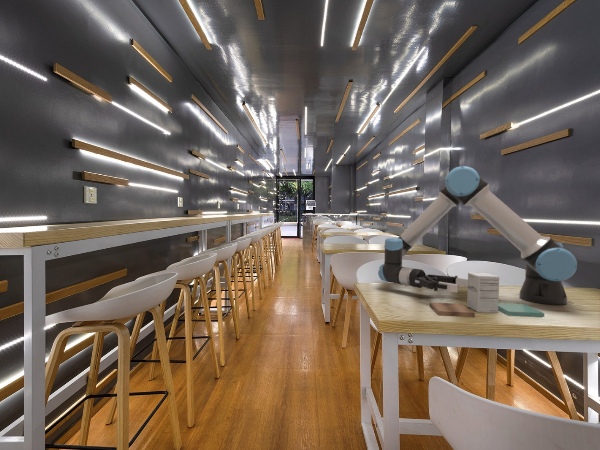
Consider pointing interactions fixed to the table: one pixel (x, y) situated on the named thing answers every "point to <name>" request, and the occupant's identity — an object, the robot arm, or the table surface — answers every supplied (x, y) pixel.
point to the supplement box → (483, 292)
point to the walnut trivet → (452, 309)
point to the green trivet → (519, 310)
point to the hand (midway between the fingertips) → (465, 286)
